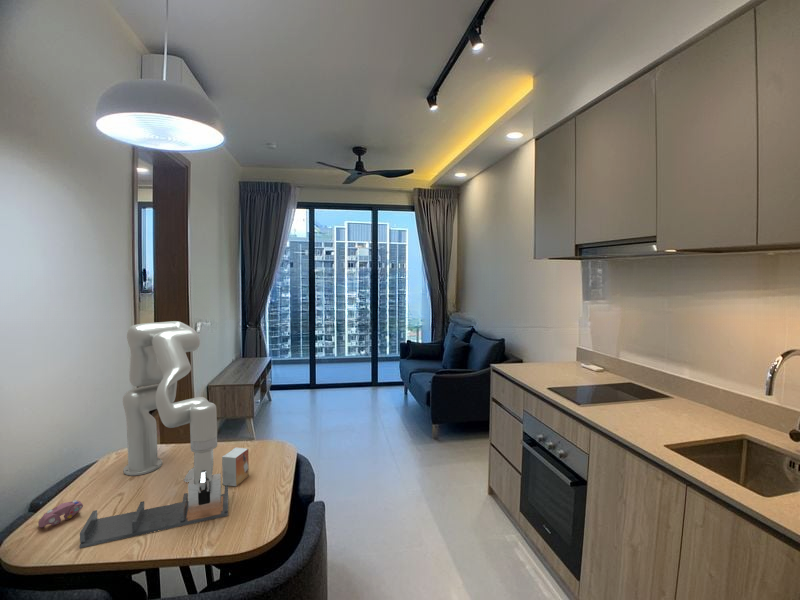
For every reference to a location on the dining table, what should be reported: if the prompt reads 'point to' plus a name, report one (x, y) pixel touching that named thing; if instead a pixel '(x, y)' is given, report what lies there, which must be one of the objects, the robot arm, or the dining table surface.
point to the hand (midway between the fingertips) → (205, 495)
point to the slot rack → (146, 521)
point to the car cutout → (189, 475)
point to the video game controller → (60, 513)
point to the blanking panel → (214, 494)
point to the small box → (235, 466)
